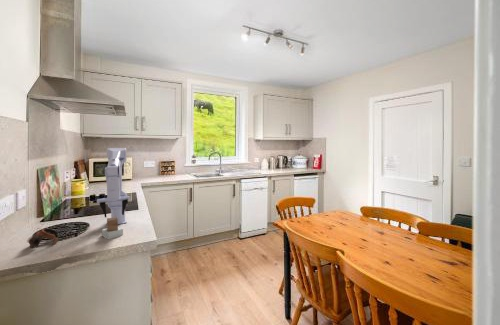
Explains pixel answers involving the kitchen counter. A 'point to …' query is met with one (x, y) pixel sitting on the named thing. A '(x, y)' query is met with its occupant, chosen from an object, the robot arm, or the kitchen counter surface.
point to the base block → (112, 233)
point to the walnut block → (112, 224)
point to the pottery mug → (44, 232)
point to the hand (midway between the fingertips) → (114, 215)
